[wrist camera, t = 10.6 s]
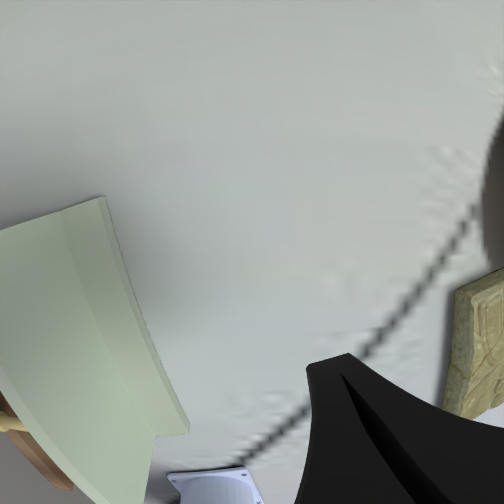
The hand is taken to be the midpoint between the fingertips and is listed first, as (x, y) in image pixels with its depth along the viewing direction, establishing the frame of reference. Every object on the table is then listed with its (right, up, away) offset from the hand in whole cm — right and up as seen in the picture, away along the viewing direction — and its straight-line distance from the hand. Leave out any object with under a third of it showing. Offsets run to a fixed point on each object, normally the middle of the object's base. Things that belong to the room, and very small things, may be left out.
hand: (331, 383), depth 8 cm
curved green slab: (-12, -2, +10) cm, 16 cm away
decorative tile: (+25, -5, +15) cm, 30 cm away
